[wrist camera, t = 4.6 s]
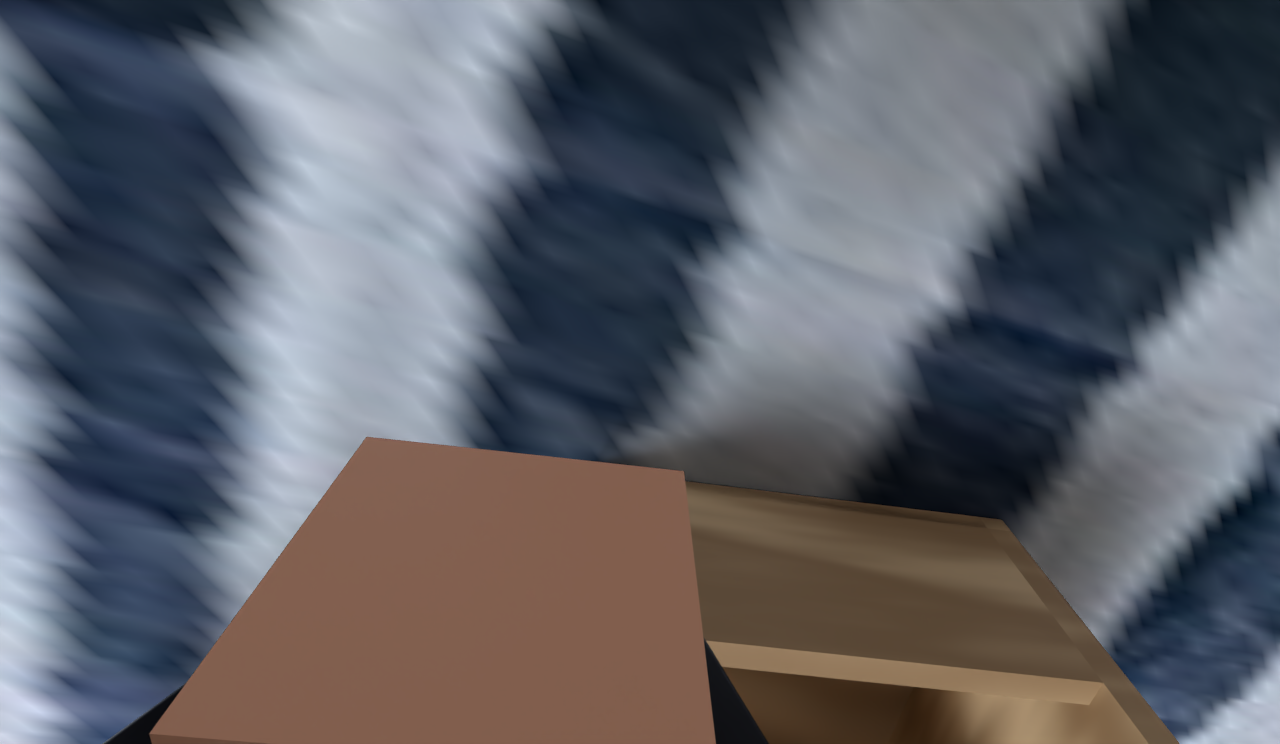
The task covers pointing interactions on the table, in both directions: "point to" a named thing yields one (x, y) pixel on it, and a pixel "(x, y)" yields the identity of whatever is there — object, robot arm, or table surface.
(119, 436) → the table surface
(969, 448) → the table surface
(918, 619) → the box
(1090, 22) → the table surface
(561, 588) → the block
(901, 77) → the table surface
